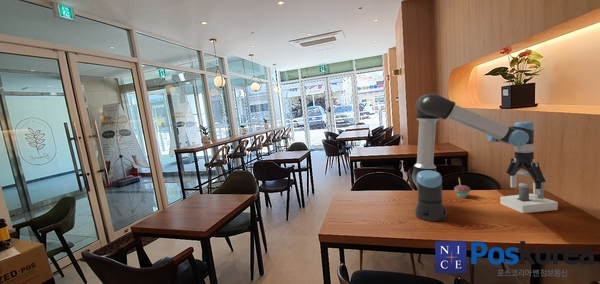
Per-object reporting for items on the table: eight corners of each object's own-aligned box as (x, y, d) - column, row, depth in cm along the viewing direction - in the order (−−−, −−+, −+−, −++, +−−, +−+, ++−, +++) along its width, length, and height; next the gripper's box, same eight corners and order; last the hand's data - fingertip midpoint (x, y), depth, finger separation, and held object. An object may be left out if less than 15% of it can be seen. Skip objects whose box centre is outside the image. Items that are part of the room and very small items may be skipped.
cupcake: (451, 196, 160) (450, 177, 159) (459, 193, 164) (459, 175, 163) (465, 199, 153) (464, 180, 151) (473, 196, 156) (473, 177, 155)
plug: (523, 208, 134) (523, 185, 132) (516, 205, 138) (516, 183, 136) (531, 207, 134) (531, 184, 132) (524, 205, 138) (524, 182, 136)
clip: (512, 176, 146) (512, 170, 146) (516, 175, 147) (516, 169, 147) (542, 182, 132) (542, 175, 132) (546, 181, 133) (546, 174, 133)
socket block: (522, 213, 129) (522, 185, 127) (500, 203, 143) (500, 177, 141) (557, 209, 129) (558, 181, 127) (531, 200, 143) (532, 174, 141)
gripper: (555, 154, 120) (555, 197, 122) (510, 147, 145) (511, 183, 147) (540, 156, 120) (540, 199, 122) (497, 148, 145) (498, 184, 147)
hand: (524, 190), depth 135 cm, fingers open, 13 cm apart
